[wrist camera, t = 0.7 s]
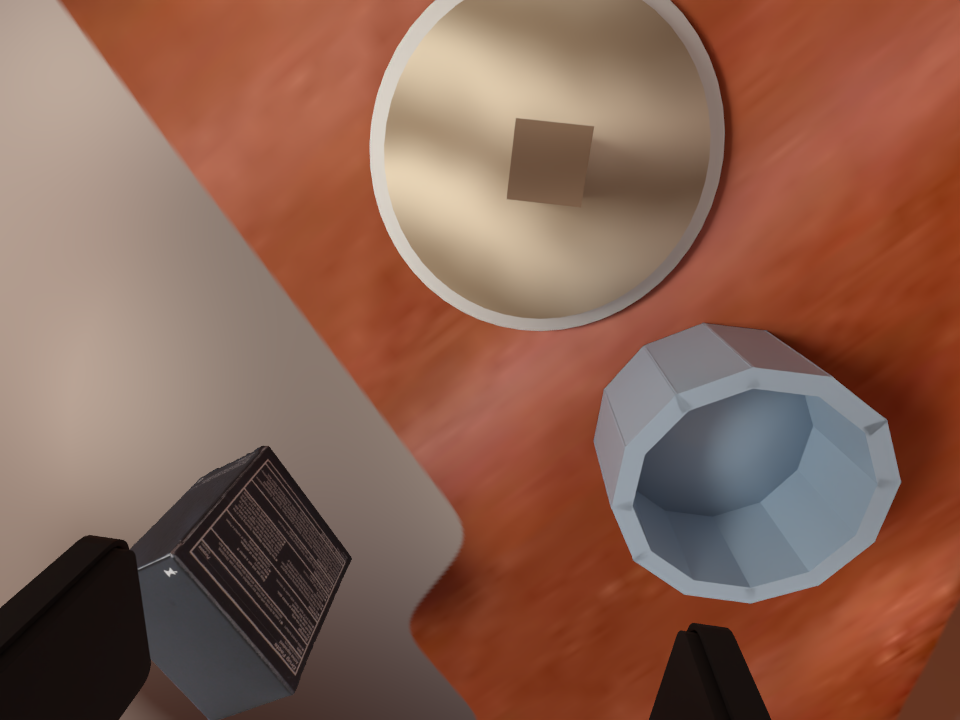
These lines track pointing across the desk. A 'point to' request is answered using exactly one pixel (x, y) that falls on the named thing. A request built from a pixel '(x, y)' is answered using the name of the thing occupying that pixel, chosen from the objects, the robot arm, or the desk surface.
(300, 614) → the small box
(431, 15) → the mat
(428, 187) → the lid
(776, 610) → the desk surface
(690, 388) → the bowl
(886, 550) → the desk surface
